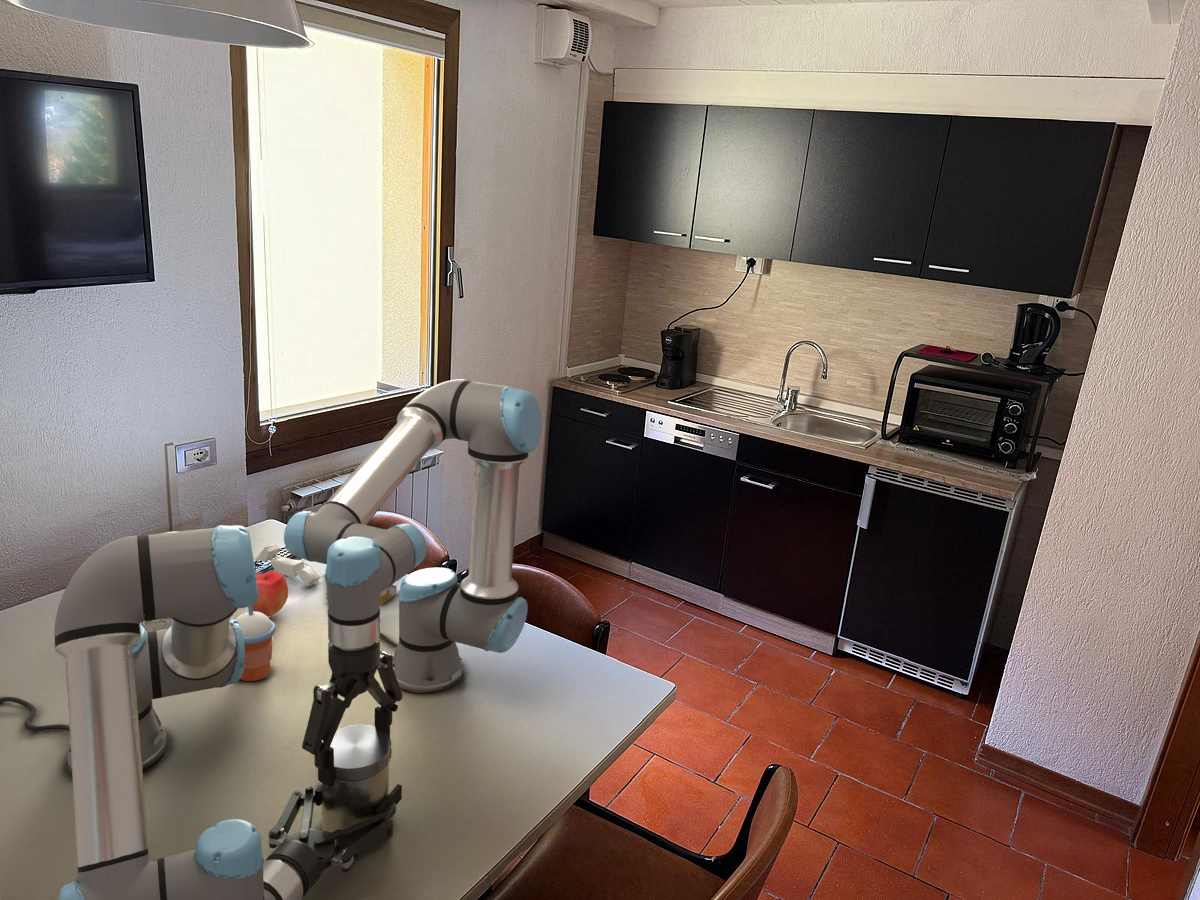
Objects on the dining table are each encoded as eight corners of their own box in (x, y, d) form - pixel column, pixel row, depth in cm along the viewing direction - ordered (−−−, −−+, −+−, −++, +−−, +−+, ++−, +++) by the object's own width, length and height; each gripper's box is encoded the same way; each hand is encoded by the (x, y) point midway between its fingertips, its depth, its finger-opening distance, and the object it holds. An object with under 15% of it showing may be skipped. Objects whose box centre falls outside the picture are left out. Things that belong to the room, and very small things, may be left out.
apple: (273, 600, 207) (272, 562, 204) (297, 613, 202) (296, 575, 199) (237, 614, 200) (234, 575, 197) (261, 628, 194) (259, 588, 191)
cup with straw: (261, 689, 172) (257, 609, 167) (220, 681, 174) (215, 601, 168) (285, 666, 181) (283, 589, 175) (246, 658, 182) (243, 582, 177)
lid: (332, 790, 127) (332, 777, 126) (307, 749, 135) (307, 737, 134) (402, 766, 133) (402, 753, 132) (374, 728, 142) (374, 716, 141)
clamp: (253, 565, 223) (254, 542, 221) (265, 560, 226) (266, 537, 224) (309, 593, 215) (310, 569, 213) (320, 588, 218) (321, 564, 216)
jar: (308, 832, 137) (306, 751, 132) (359, 798, 145) (359, 721, 140) (351, 863, 131) (350, 780, 127) (401, 826, 140) (402, 747, 135)
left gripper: (217, 877, 124) (310, 783, 144) (354, 926, 118) (431, 820, 138) (214, 835, 122) (309, 745, 142) (354, 882, 116) (432, 781, 136)
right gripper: (392, 603, 139) (391, 719, 146) (272, 663, 120) (277, 793, 127) (426, 617, 136) (424, 735, 142) (308, 682, 116) (312, 815, 123)
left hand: (369, 782), depth 140 cm, fingers closed on jar, 10 cm apart
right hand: (355, 763), depth 134 cm, fingers closed on lid, 11 cm apart
